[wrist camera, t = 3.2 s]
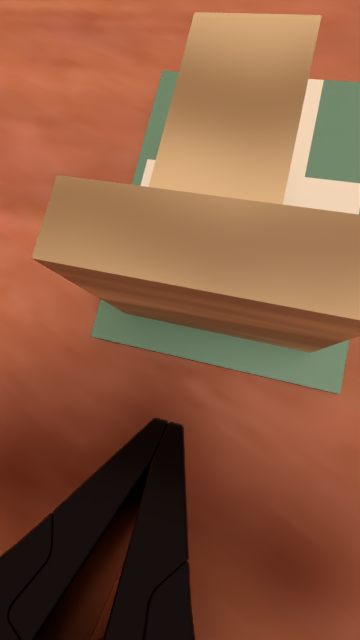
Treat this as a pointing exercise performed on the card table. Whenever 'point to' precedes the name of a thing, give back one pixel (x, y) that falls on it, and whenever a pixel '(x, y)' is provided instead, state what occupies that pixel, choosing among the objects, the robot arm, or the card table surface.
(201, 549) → the card table surface
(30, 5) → the card table surface
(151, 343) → the board
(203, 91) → the oak t block
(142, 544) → the robot arm
